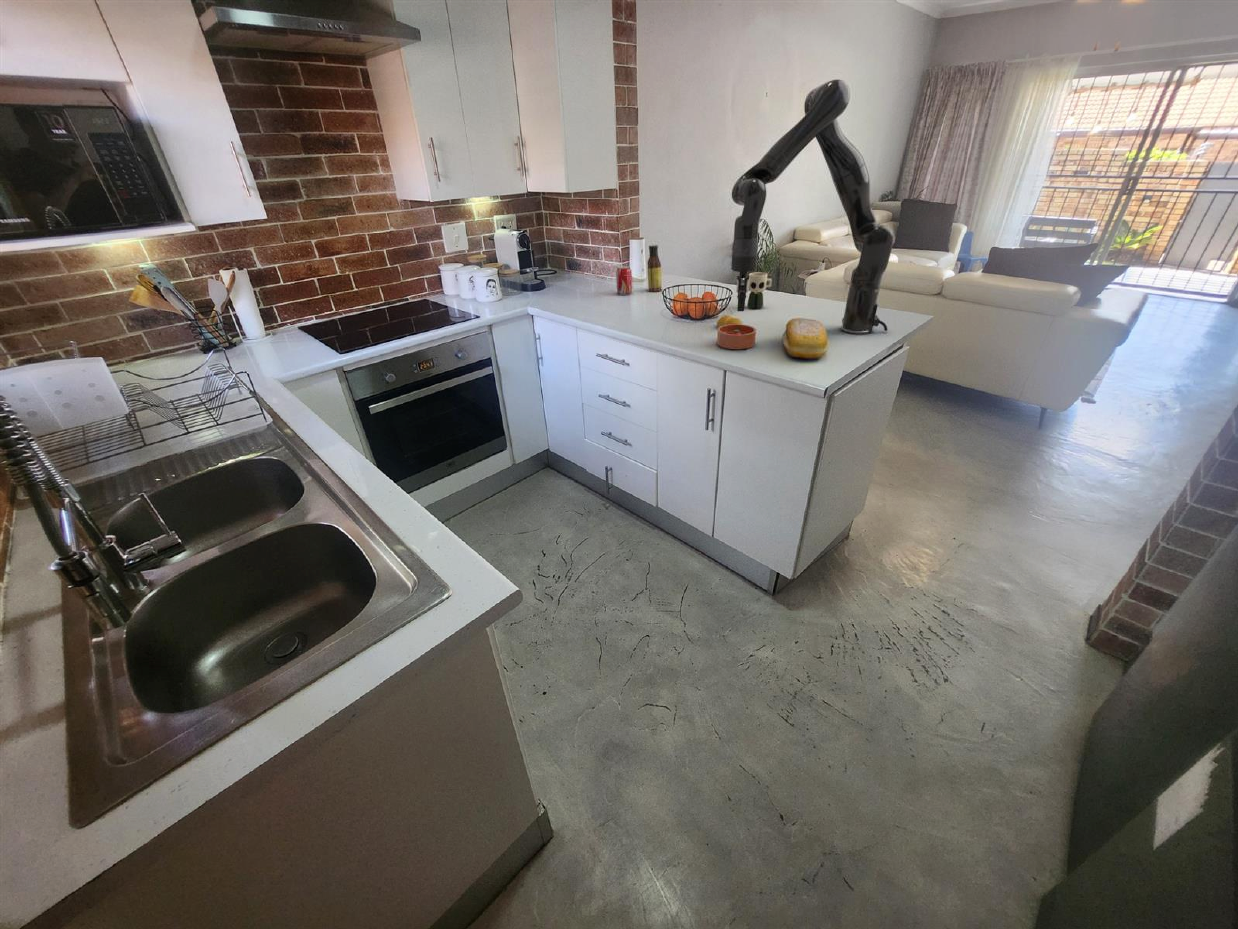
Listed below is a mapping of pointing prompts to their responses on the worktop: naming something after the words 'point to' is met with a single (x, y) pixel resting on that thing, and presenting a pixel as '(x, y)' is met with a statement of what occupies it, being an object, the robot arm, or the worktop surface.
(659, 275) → the sauce bottle
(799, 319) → the bread
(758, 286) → the character mug
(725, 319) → the bread roll
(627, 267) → the soda can
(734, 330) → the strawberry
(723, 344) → the bowl
